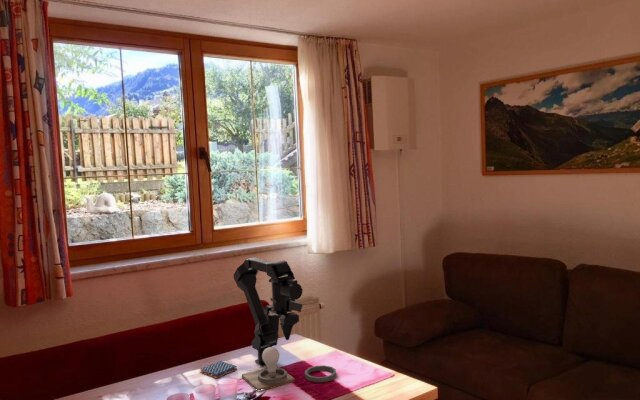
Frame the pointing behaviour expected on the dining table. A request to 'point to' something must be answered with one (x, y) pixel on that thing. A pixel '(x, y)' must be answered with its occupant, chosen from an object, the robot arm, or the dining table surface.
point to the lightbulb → (271, 360)
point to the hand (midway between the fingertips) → (281, 336)
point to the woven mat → (218, 369)
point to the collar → (320, 379)
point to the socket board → (267, 378)
